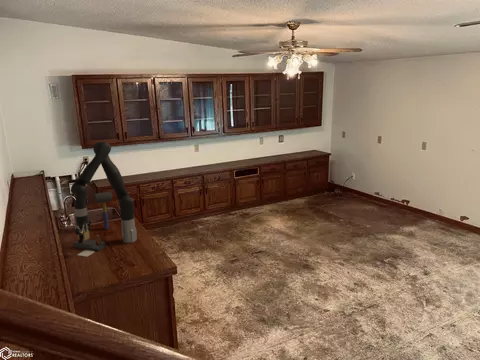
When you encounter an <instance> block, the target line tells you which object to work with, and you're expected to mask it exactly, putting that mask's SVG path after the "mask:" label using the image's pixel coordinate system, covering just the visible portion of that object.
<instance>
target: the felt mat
mask: <svg viewBox="0 0 480 360" xmlns="http://www.w3.org/2000/svg"><path fill="white" fill-rule="evenodd" d="M95 252H96V251H94V250H87V249H83V251H81V252H79V253H78V254H77V257H78V256H79V257H86V258H88V257H89V256H91V255H92V254H94V253H95Z"/></svg>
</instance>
